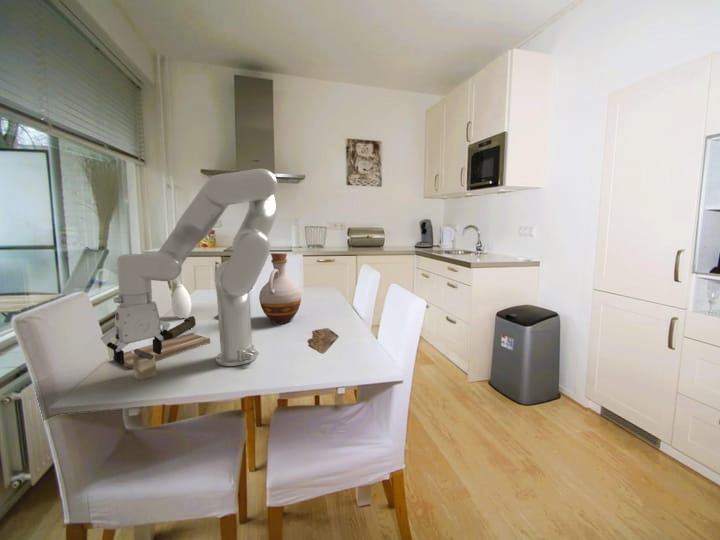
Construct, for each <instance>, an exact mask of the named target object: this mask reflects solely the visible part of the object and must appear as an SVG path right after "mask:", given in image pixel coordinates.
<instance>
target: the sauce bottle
mask: <svg viewBox="0 0 720 540" xmlns="http://www.w3.org/2000/svg"><path fill="white" fill-rule="evenodd" d="M171 308H172V312H173V314H174V315H175V317H177V318H179V319H181V320H183V319H182V318H184V319H186V318H188V317H189V315H190V314H191V311H192V300H191V296H190V294H189V291H188V290H187V289H186V287H185V286H184V284H182V283H181V279H180V278H179V279H178V284H177V285H176V287H175V289H174V292H173V294H172V297H171Z"/></svg>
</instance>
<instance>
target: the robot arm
mask: <svg viewBox="0 0 720 540" xmlns="http://www.w3.org/2000/svg"><path fill="white" fill-rule="evenodd" d="M277 190H278V179H277V177H276V176H275V173H274V172H272V171H270V170H269V169H266V168H253V169H248V170H241V171H240V170H239V171H235V172H226V173H221V174H215V175H213V176H211V177H209V178H208V179H207V180H206V181H205V183H204V184H203V186H202V187H201V189H200V190H199V191H198V193H197V194H196V195H195V196H194V198H193V200H192V201H191V202H190V204H189V206H188V207H187V208H186V209H185V211H184V212H183V214H182V215H181V216H180V218H179V219H178V220H177V223H176V225H175V227H174V228H173V230H172V232H171V233H170V234H169V236H168V237H167V239H166V240H165V242H164V243H163V244H162V246H161V247H160V249H158V251H157V253H156V254H155V255H147V254H145V253H144V254H143V253H127V254H122V255H119V256H118V257H117V260H116V261H117V262H116V264H117V266H116V267H117V282H118V294H117V295H118V296H117V297H114V298H113V303H114V304H117V306H116V311H115V317H114V318H115V319H114V328H113V329H111V330H110V331H108V332H106V333H105V334H104V335H102V336H101V337H100V340H101V342H102V343H103V344H104V345H105V346H106V347H107V348H109V349H111V350H113V356H114V363H116V364H117V365H120V366H124V353H125V352H124V350H122V349H123V348H124V346H125V345H127V344H133V343H137V342H141V341H143V340H144V341H145V340H149V339H152V338H153V339H152V344H153V352H154V353H156V354H161V350H162V341H164V339H163V337H164V336H165V335H166V333H167V331H168V330H169V328H170V326H171V323H170V322H167V321H163V320H161V319H160V313H159V310H158V306H157V303H156V301H153V289H152V281H155V282H156V281H157V282H170V281H173V280H174V281H175V279H177V278H178V277H179V276H180V275H181V273H182V271H183V270H182V269H183V268H182V267H183V264H184V262H186V260H187V259H188V257H189V255H190V254H191V253H192V251H193V250H194V249H195V248H196V246H197V245H198V244H199V243H200V242H201V241H203V240H204V239H205V238H207V236H208V235H209V234H210V233H211V232H212V230H213V229H214V227H215V225H216V224H217V222H218V221H219V220H220V218H221V217H222V216H223V213H224V212H225V211H226V209H228V207H229V206H231V205H238V204H243V203H247V202H248V210H247V212H246V213H245V217H244V219H243V221H242V223H241V225H240V227H239V228H238V231H237V232H236V234H235V236H234V237H233V239H232V240H233V241H232V244H231V245H232V253H231V255H230V257H229V258H228V260H226V261H223V262H222V263H220V264H219V265H218V267H216V270H215V273H214V282H215V283H214V284H215V291H216V302H217V315H218V317H217V318H218V328H219V329H218V330H219V331H218V332H219V343H220V347H219V348H220V353H218V354H217V355H216V357H215V363H217V364H218V365H219V366H224V367H236V366H242V365H246V364H249V363H251V362H253V361H255V360H256V359H257V358H258V356H259V354H260V353H259V351H257V350H256V349H255V345H254V344H253V339H252V338H253V336H252V335H253V334H252V318H251V299H250V292H251V291H252V289H253V288H254V286H255V285H256V282H257V280H258V279H259V276H260V275H261V272H262V271H263V269H264V266H265V265H266V262H267V261H268V259H269V255H270V253H271V252H270V251H271V244H270V240H269V238H268V236H269V234H270V232H271V230H272V228H273V225H274V223H275V220H276V216H277V208H278V207H277V203H276V202H277V201H276V198H275V195H274V194H276V192H277ZM113 337H114V338H115V341H114V342H112V341H111V339H112V338H113Z"/></svg>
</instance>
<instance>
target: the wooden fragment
mask: <svg viewBox="0 0 720 540" xmlns="http://www.w3.org/2000/svg"><path fill="white" fill-rule="evenodd" d="M311 332H312V335H311V336H312V337H311V338H308V339H307V342H308V347H310V348H312V349H313V350H316V351H318V353H320V354H322V355H323V354H325V353H326V351H327V350H328V349H330V347H331V346H332V344H333V343H334V342H335V341H336V340H337V339H338V338H339V335H338V334H337V333H336V332H334V330H331V329H330V327H322V328H320V329H314V330H312V331H311Z"/></svg>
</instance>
